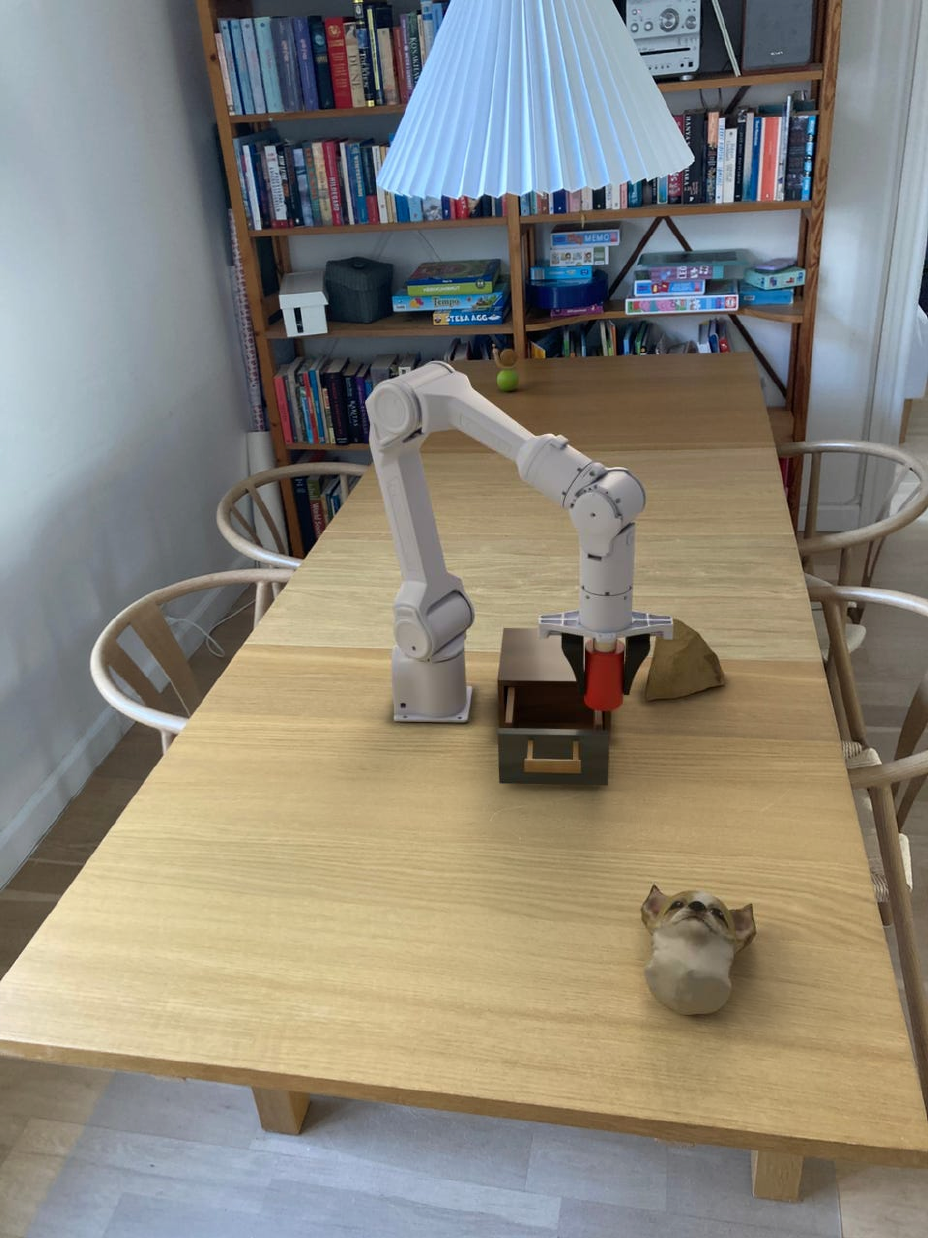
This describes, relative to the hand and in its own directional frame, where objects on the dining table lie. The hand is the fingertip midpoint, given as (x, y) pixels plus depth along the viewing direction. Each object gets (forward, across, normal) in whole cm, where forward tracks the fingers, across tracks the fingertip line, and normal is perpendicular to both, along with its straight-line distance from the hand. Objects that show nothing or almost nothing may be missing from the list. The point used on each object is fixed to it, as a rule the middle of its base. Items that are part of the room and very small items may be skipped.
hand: (603, 690), depth 115 cm
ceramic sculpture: (+11, +7, -30) cm, 33 cm away
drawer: (+10, -6, -2) cm, 11 cm away
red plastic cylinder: (+1, 0, 0) cm, 1 cm away
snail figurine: (+10, -20, +152) cm, 153 cm away
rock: (+11, +11, +17) cm, 23 cm away
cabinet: (+10, -6, +11) cm, 16 cm away
